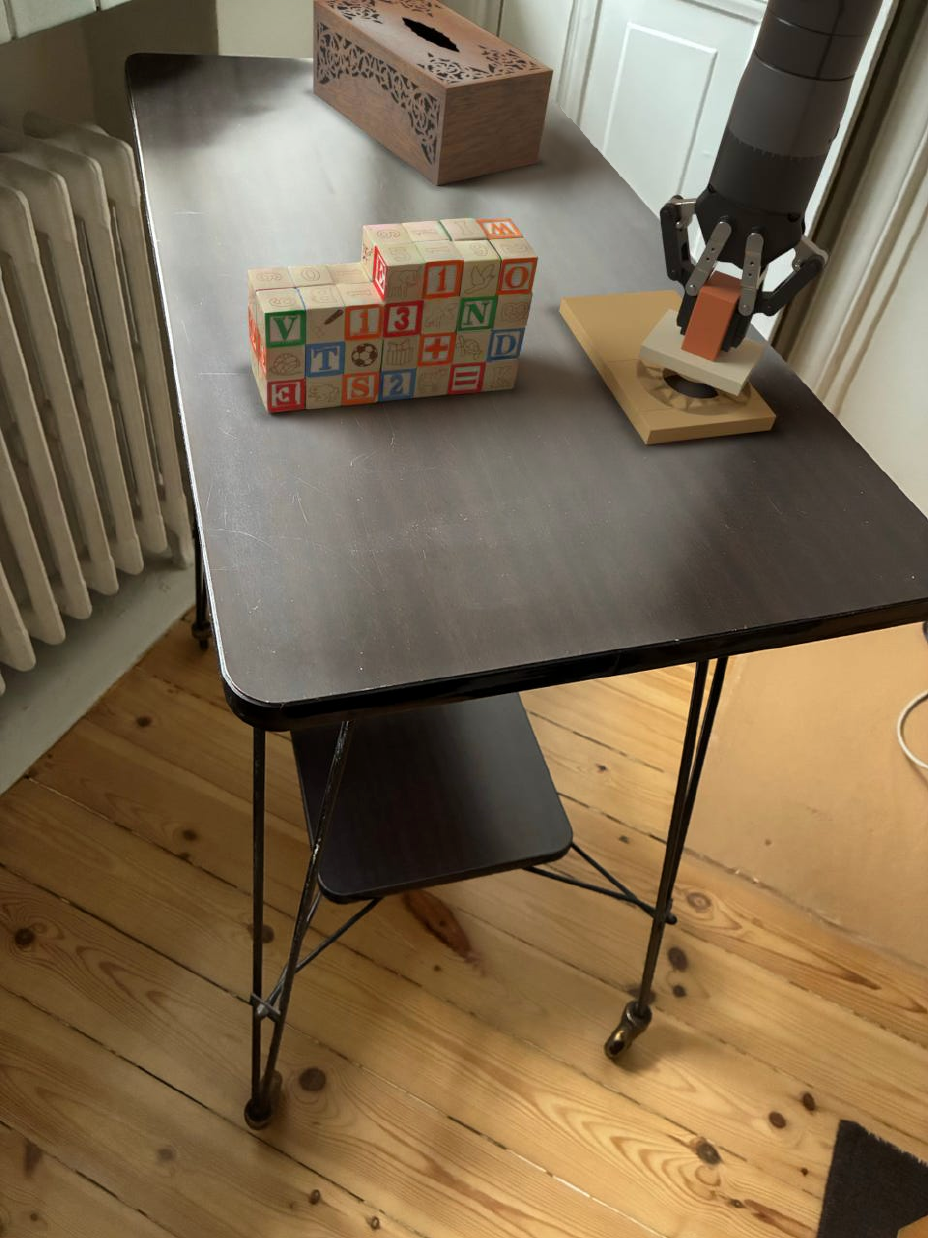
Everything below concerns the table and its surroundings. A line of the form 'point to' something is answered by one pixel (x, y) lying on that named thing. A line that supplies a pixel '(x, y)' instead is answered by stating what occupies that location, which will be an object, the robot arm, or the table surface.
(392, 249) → the stack of blocks
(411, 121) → the tissue box cover
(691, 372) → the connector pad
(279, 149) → the table surface
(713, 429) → the base pad
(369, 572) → the table surface
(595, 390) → the table surface
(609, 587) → the table surface
